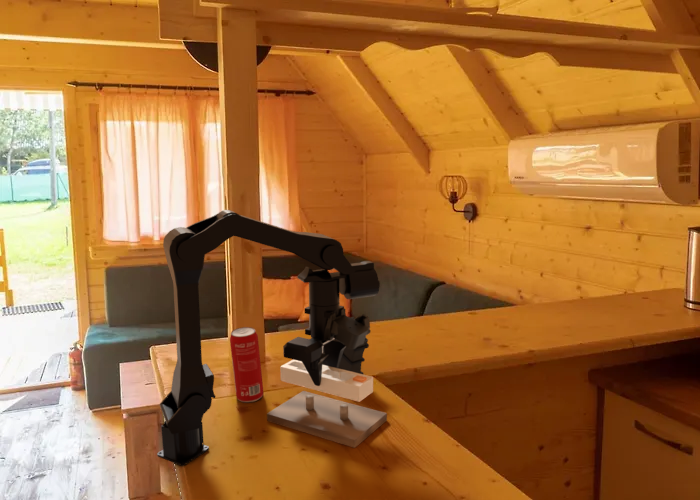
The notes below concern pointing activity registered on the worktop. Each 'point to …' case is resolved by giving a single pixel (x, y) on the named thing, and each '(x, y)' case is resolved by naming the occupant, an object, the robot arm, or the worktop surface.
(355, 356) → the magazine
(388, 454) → the worktop surface
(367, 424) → the peg board
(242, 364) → the beverage can
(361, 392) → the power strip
